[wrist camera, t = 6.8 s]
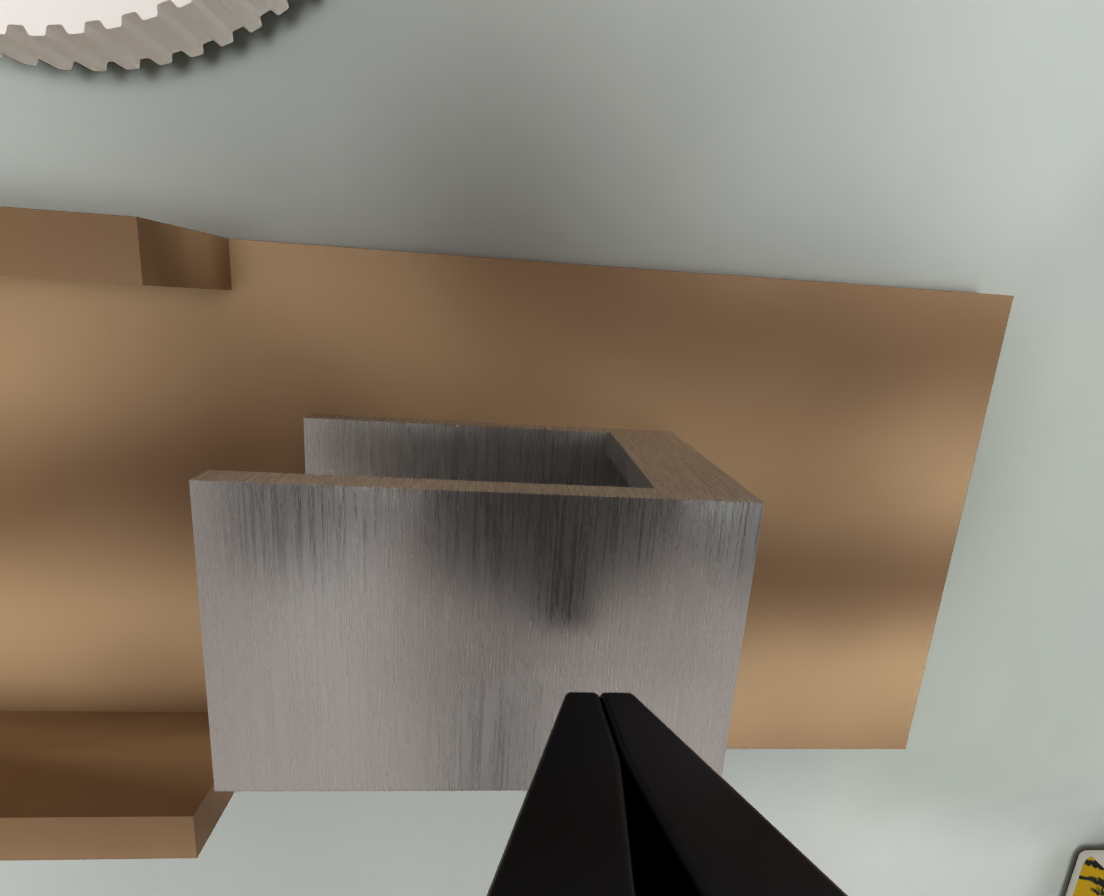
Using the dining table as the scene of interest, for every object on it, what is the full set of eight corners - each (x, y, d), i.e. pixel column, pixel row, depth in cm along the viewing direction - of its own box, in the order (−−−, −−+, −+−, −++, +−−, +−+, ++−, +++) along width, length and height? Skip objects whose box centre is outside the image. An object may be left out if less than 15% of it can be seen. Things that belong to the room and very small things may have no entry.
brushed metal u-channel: (719, 789, 10) (214, 791, 9) (649, 628, 14) (317, 621, 14) (764, 502, 8) (188, 480, 8) (671, 431, 13) (311, 413, 13)
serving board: (882, 723, 17) (993, 847, 13) (-182, 717, 15) (-433, 865, 11) (979, 296, 14) (1156, 292, 10) (-316, 203, 12) (-721, 152, 8)
